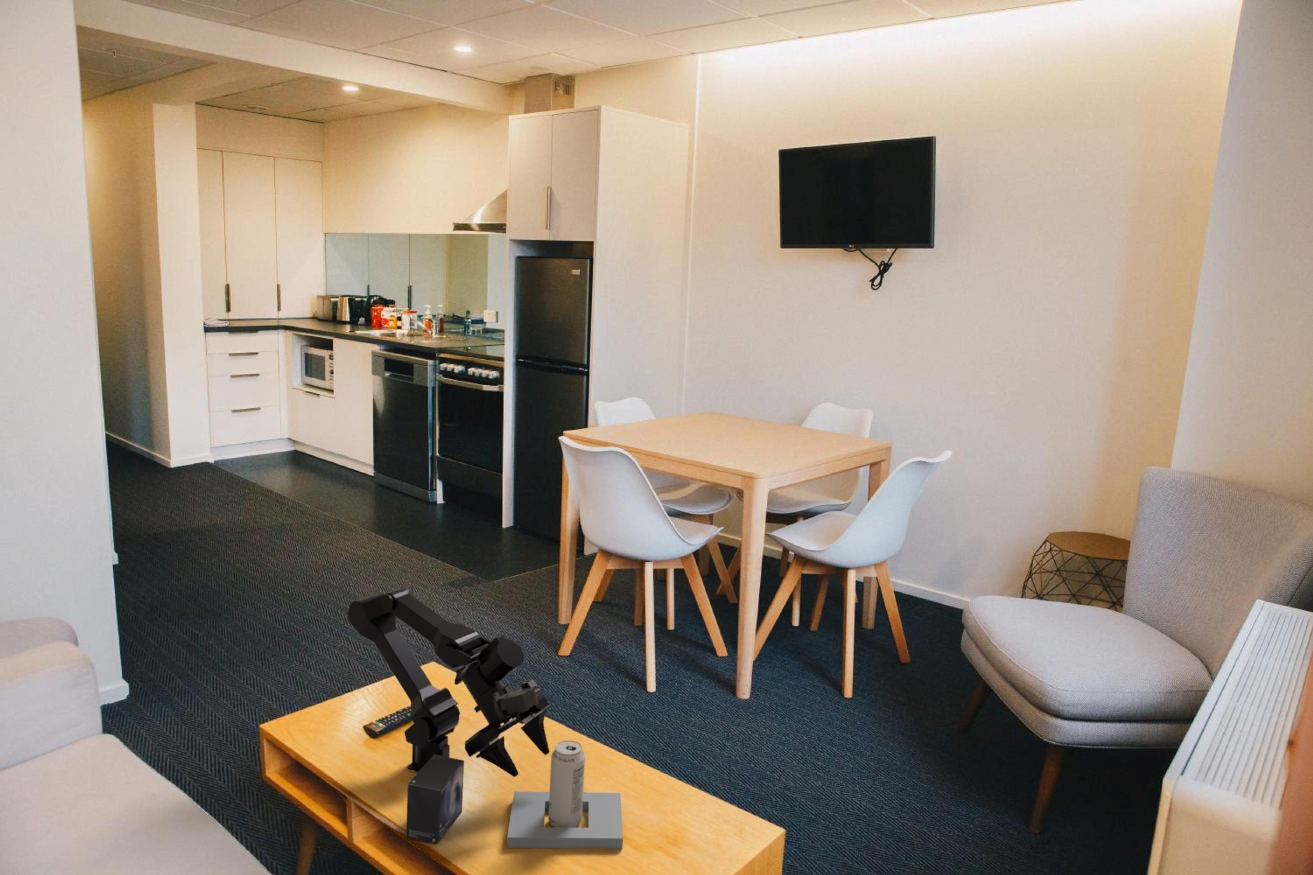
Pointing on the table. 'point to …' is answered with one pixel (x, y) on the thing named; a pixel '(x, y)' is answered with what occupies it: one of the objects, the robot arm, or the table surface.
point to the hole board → (533, 834)
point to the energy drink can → (566, 784)
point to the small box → (434, 799)
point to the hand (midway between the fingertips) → (532, 764)
